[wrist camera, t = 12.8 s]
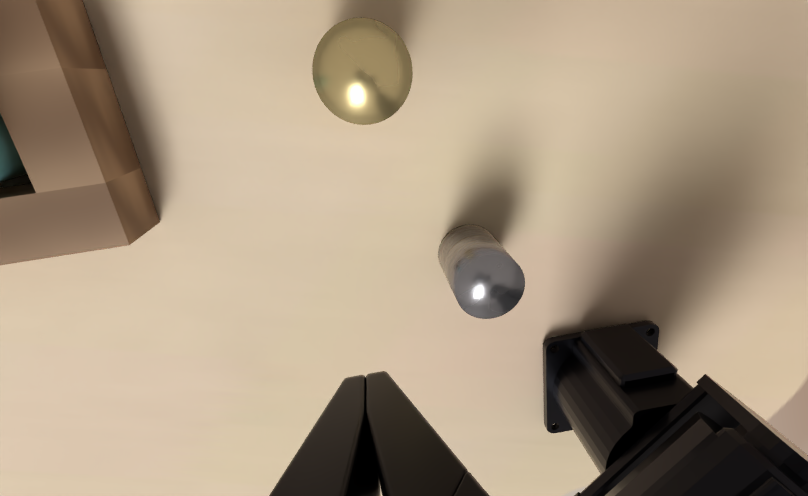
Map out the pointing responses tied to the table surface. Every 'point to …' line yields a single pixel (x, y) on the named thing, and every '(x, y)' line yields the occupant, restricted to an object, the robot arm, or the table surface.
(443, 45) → the table surface
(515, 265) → the pin short
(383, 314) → the table surface
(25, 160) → the hole block
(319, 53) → the pin medium
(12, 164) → the pin long
